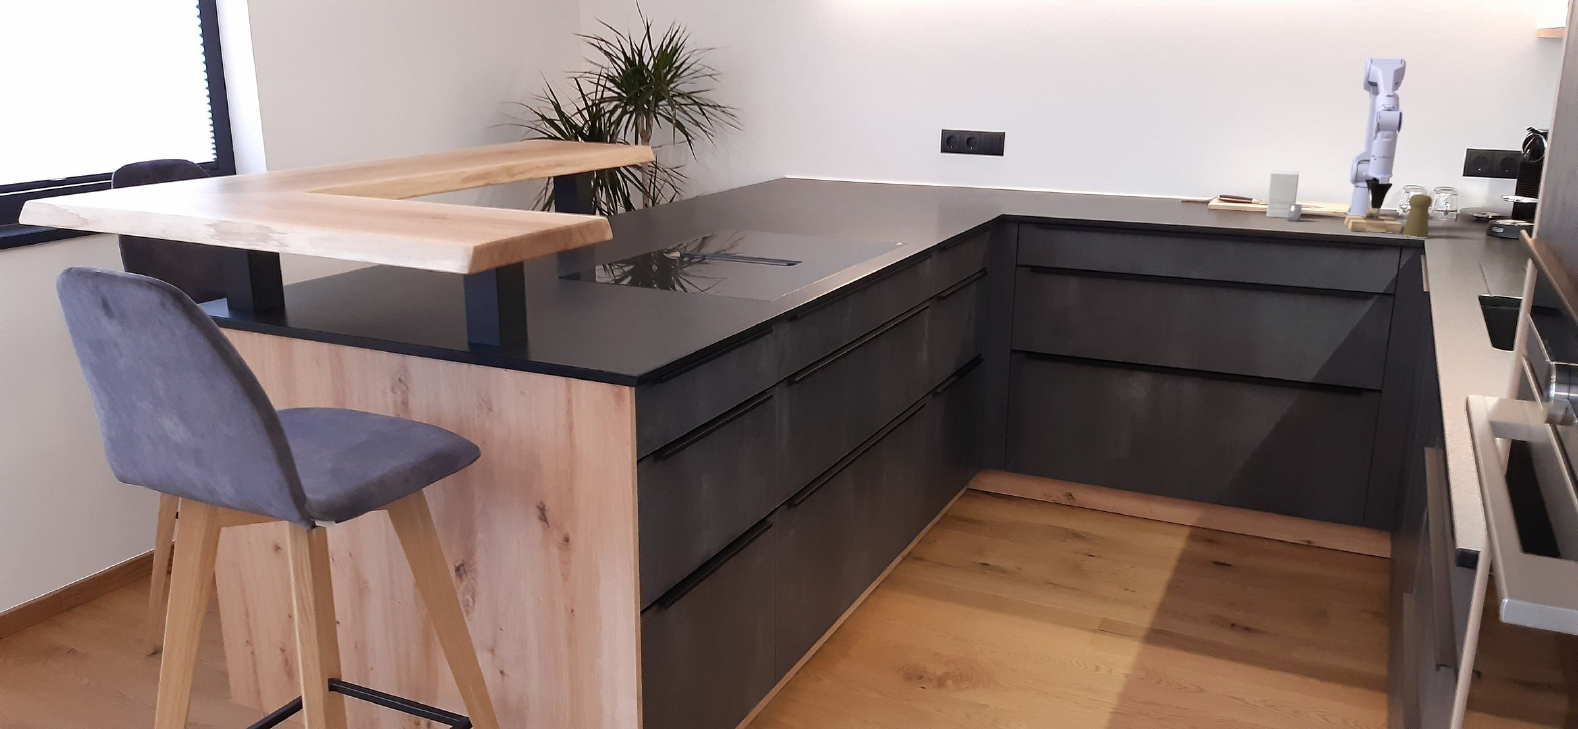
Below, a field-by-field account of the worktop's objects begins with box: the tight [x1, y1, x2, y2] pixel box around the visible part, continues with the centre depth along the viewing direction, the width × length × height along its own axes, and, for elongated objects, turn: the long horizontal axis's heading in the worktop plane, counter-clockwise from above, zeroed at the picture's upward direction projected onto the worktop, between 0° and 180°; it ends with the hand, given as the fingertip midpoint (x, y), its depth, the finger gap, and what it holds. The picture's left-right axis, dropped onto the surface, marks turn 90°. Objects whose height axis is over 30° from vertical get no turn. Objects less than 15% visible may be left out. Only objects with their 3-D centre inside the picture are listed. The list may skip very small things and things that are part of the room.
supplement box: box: [1266, 169, 1300, 219], centre depth 337 cm, size 7×7×13 cm
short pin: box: [1287, 203, 1303, 223], centre depth 330 cm, size 3×3×4 cm
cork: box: [1402, 193, 1433, 238], centre depth 306 cm, size 6×6×11 cm
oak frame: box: [1344, 214, 1402, 234], centre depth 318 cm, size 12×12×3 cm
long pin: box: [1365, 189, 1381, 219], centre depth 317 cm, size 3×3×8 cm
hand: (1374, 207), depth 317 cm, fingers closed on long pin, 3 cm apart
